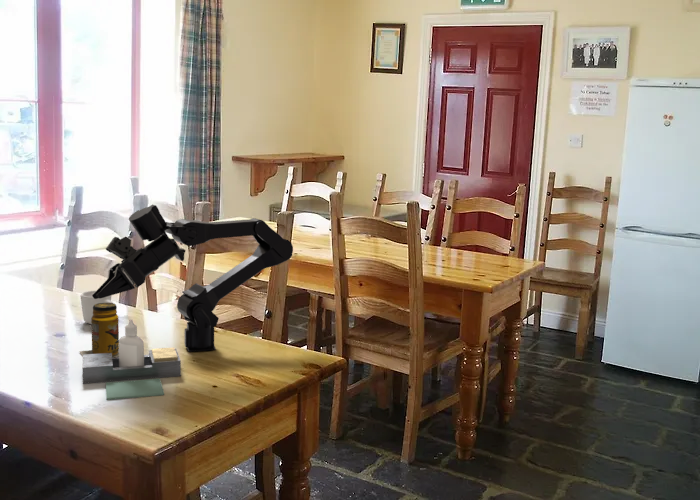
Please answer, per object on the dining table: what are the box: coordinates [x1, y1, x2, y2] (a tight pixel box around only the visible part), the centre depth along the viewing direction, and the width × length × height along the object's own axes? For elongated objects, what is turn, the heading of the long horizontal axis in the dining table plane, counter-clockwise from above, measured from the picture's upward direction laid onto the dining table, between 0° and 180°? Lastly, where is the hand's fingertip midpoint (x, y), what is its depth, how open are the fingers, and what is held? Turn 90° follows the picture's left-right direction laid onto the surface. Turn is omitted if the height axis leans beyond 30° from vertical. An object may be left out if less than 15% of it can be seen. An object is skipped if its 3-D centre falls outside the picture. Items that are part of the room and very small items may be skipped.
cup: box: [79, 290, 114, 325], centre depth 196 cm, size 11×8×8 cm
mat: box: [105, 378, 165, 401], centre depth 149 cm, size 11×9×1 cm
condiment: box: [78, 302, 120, 357], centre depth 170 cm, size 7×8×12 cm
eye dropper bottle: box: [119, 319, 145, 367], centre depth 158 cm, size 4×6×12 cm
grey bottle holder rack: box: [81, 347, 182, 385], centre depth 159 cm, size 20×9×4 cm, turn 109°
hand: (95, 297), depth 162 cm, fingers open, 9 cm apart
